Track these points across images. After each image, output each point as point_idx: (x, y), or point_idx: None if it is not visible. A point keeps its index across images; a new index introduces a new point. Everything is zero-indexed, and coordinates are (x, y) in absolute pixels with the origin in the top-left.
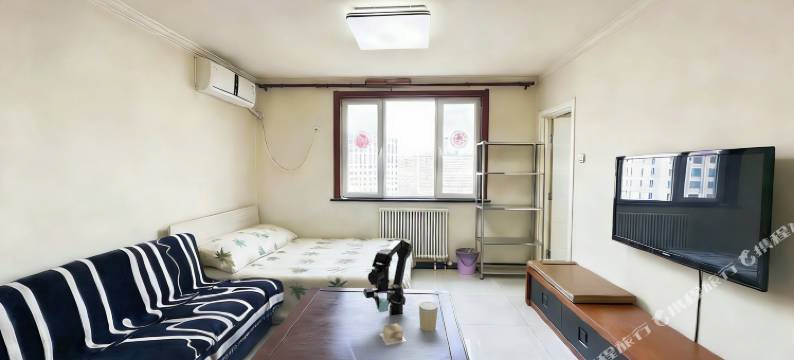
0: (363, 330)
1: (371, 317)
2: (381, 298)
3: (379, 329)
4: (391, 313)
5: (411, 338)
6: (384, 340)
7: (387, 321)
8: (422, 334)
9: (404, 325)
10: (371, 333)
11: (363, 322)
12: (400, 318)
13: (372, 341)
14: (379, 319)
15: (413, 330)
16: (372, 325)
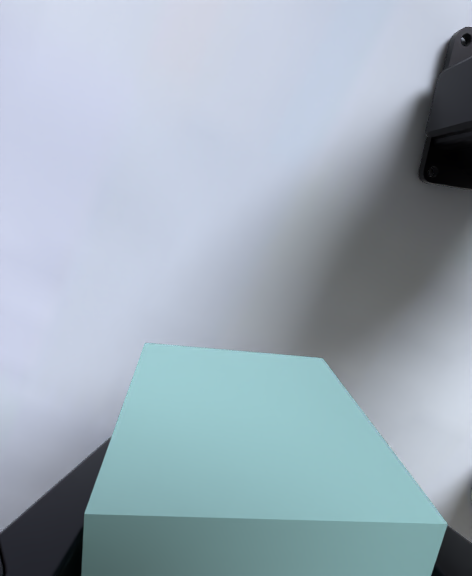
0: (9, 286)
1: (197, 50)
2: (268, 548)
3: (172, 336)
4: (435, 137)
5: None
6: None
7: (316, 232)
8: None
9: (411, 369)
10: (71, 368)
11: (60, 121)
12: (462, 238)
13: (36, 479)
14: (262, 149)
15: (423, 463)
16: (136, 235)
